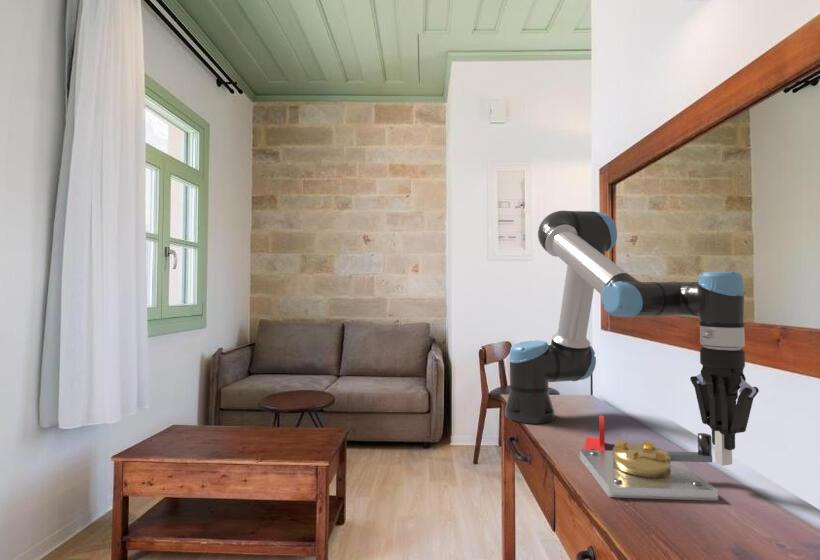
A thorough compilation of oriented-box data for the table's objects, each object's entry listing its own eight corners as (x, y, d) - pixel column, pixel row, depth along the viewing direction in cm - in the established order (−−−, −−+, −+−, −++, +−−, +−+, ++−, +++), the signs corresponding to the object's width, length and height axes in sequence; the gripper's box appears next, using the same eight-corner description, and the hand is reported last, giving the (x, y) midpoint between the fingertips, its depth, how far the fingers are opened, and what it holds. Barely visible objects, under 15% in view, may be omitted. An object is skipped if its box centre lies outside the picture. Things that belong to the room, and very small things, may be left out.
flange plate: (579, 458, 108) (579, 448, 108) (667, 460, 106) (667, 450, 106) (609, 497, 88) (609, 485, 88) (718, 500, 86) (717, 488, 86)
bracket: (585, 441, 120) (585, 411, 120) (604, 443, 118) (603, 412, 118) (584, 457, 109) (584, 424, 109) (605, 459, 107) (604, 426, 107)
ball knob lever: (624, 476, 92) (623, 441, 92) (605, 456, 103) (605, 425, 103) (726, 479, 90) (726, 444, 90) (696, 458, 101) (696, 427, 101)
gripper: (679, 344, 97) (681, 454, 97) (740, 352, 85) (742, 479, 84) (706, 342, 99) (707, 450, 99) (768, 350, 87) (770, 473, 87)
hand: (723, 463), depth 92 cm, fingers closed
